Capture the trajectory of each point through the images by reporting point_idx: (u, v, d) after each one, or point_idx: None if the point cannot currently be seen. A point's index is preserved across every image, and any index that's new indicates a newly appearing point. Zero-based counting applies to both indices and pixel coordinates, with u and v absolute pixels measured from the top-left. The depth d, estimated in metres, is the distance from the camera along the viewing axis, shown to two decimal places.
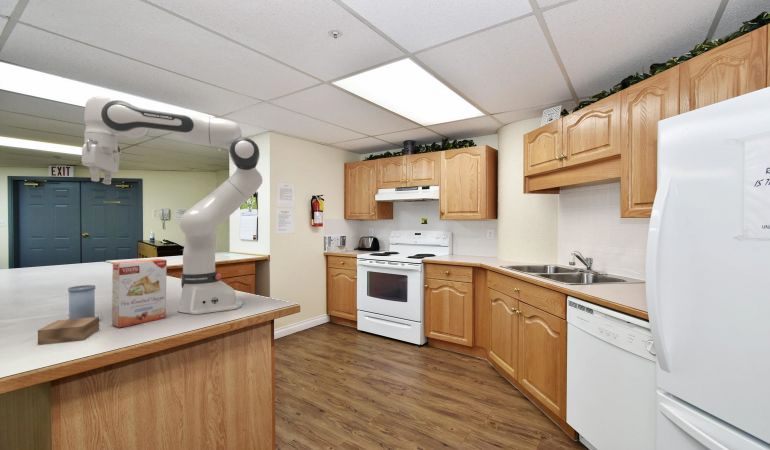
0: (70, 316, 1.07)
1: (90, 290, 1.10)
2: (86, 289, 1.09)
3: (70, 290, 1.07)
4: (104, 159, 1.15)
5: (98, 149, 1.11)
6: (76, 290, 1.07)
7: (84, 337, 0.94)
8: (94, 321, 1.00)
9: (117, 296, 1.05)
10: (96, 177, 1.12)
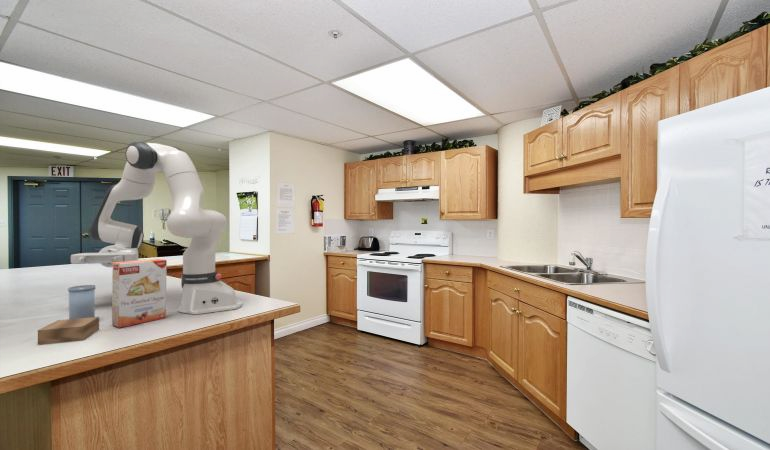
0: (70, 316, 1.07)
1: (90, 290, 1.10)
2: (86, 289, 1.09)
3: (70, 290, 1.07)
4: (98, 253, 1.28)
5: (87, 253, 1.29)
6: (76, 290, 1.07)
7: (84, 337, 0.94)
8: (94, 321, 1.00)
9: (117, 296, 1.05)
10: None
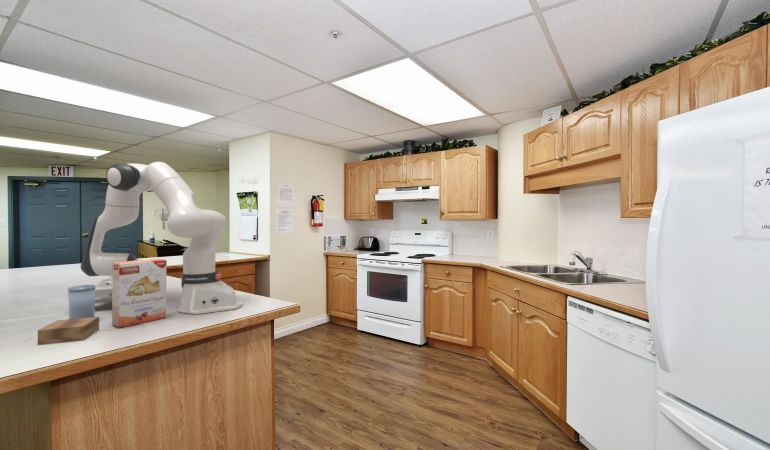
0: (70, 316, 1.07)
1: (90, 290, 1.10)
2: (86, 289, 1.09)
3: (70, 290, 1.07)
4: (96, 287, 1.26)
5: None
6: (76, 290, 1.07)
7: (84, 337, 0.94)
8: (94, 321, 1.00)
9: (117, 296, 1.05)
10: None
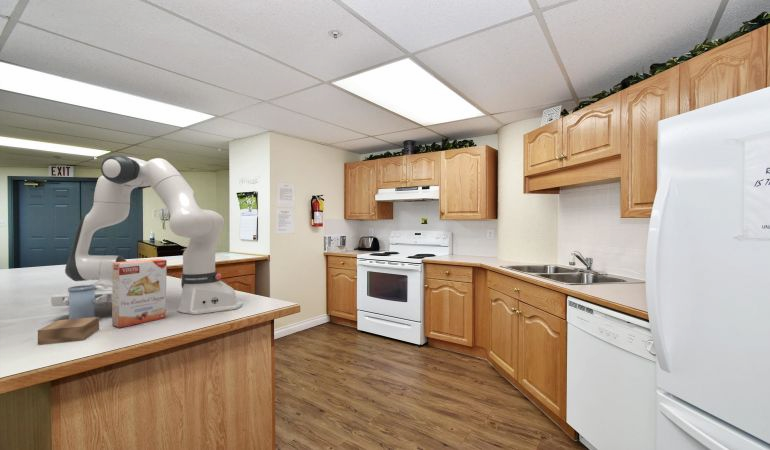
0: (70, 316, 1.07)
1: (90, 290, 1.10)
2: (86, 289, 1.09)
3: (70, 290, 1.07)
4: None
5: None
6: (76, 290, 1.07)
7: (84, 337, 0.94)
8: (94, 321, 1.00)
9: (117, 296, 1.05)
10: None
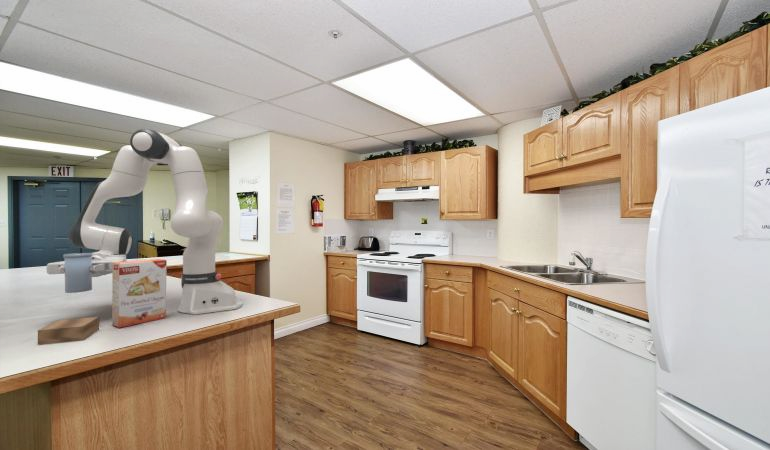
0: (66, 283, 1.03)
1: (87, 257, 1.05)
2: (82, 255, 1.04)
3: (66, 256, 1.02)
4: None
5: None
6: (72, 256, 1.02)
7: (84, 337, 0.94)
8: (94, 321, 1.00)
9: (117, 296, 1.05)
10: None
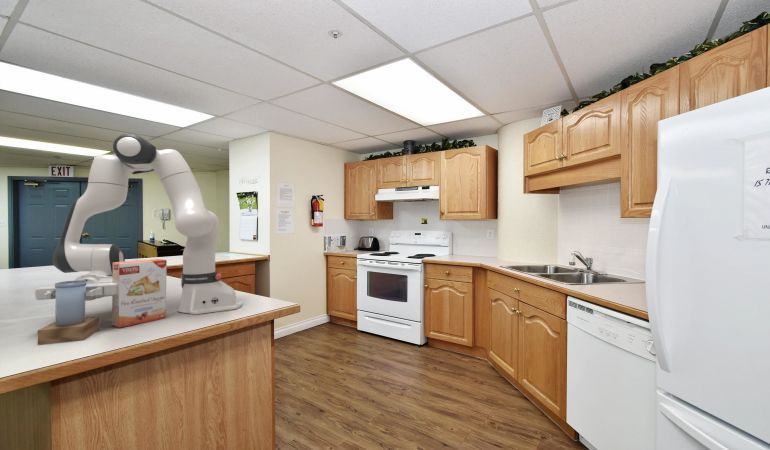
0: (56, 315, 0.94)
1: (80, 286, 0.96)
2: (76, 285, 0.95)
3: (57, 286, 0.93)
4: None
5: None
6: (64, 286, 0.94)
7: (84, 337, 0.94)
8: (94, 321, 1.00)
9: (117, 296, 1.05)
10: None
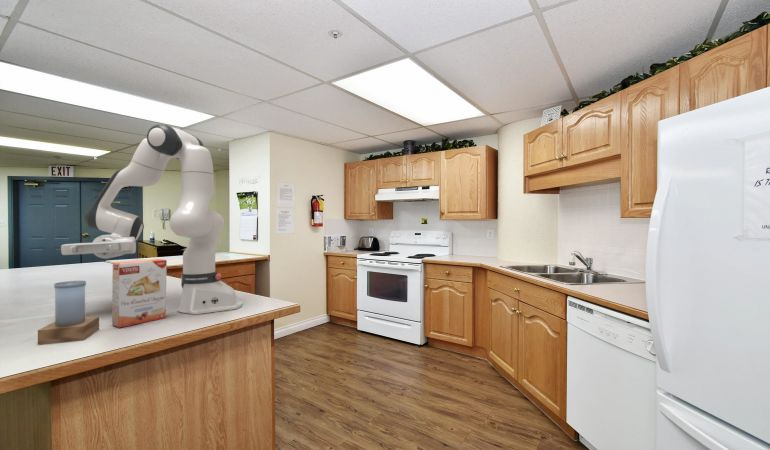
0: (56, 316, 0.94)
1: (80, 286, 0.96)
2: (75, 285, 0.95)
3: (56, 286, 0.93)
4: None
5: (79, 243, 1.17)
6: (63, 286, 0.94)
7: (84, 337, 0.94)
8: (94, 321, 1.00)
9: (117, 296, 1.05)
10: None
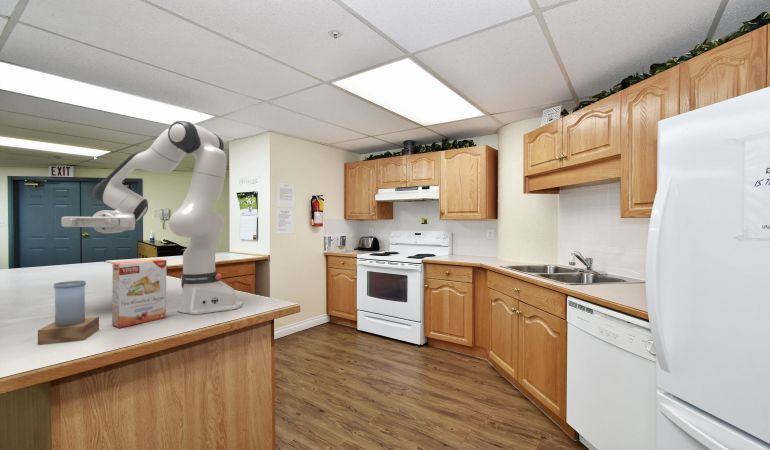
0: (56, 316, 0.94)
1: (79, 286, 0.96)
2: (75, 285, 0.95)
3: (56, 286, 0.93)
4: None
5: None
6: (63, 286, 0.93)
7: (84, 337, 0.94)
8: (94, 321, 1.00)
9: (117, 296, 1.05)
10: None
